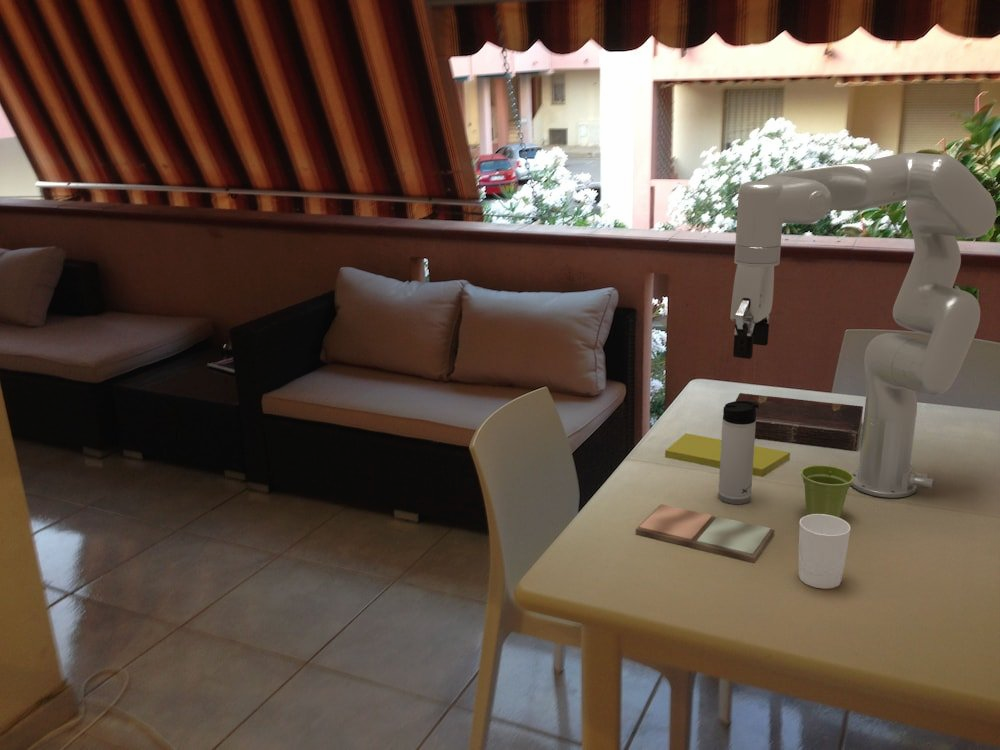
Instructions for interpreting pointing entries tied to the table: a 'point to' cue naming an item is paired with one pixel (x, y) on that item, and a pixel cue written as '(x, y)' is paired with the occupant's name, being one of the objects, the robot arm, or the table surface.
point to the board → (706, 532)
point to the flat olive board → (710, 453)
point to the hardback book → (806, 422)
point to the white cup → (822, 550)
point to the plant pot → (825, 489)
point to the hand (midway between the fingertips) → (750, 350)
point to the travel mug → (737, 451)
